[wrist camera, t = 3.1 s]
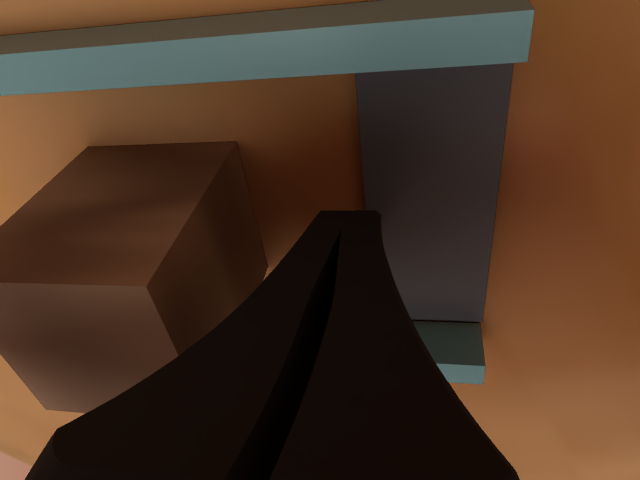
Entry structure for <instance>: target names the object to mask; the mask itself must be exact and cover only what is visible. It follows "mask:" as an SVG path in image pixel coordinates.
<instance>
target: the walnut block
mask: <svg viewBox="0 0 640 480" xmlns="http://www.w3.org/2000/svg"><path fill="white" fill-rule="evenodd" d="M267 268H268V265H267V261H266V257H265V253H264V249H263V245H262V241H261V237H260V233H259V229H258V225H257V221H256V217H255V213H254V209H253V205H252V201H251V197H250V193H249V190H248V186H247V182H246V178H245V174H244V170H243V166H242V162H241V158H240V154H239V150H238V146H237V142H236V141H227V142H200V143H174V144H147V145H120V146H93V147H87V148H86V149H85V150H84V151H82V152H81V153H80V154H79V155H78V156H77V157H76V158H75V159H74V160H73V161H72V162H70V163H69V164H68V165H67V166H66V167H65V168H64V169H63V170H62V171H61V172H59V173H58V174H57V175H56V176H55V177H54V178H53V179H52V180H51V181H50V182H48V183H47V184H46V185H45V186H44V187H43V188H42V189H41V190H40V191H39V192H38V193H36V194H35V195H34V196H33V197H32V198H31V199H30V200H29V201H28V202H27V203H25V204H24V205H23V206H22V207H21V208H20V209H19V210H18V211H17V212H16V213H14V214H13V215H12V216H11V217H10V218H9V219H8V220H7V221H6V222H5V223H4V224H2V225H1V226H0V354H1V355H2V357H3V358H4V359H5V360H6V361H7V363H8V364H9V365H10V366H11V368H12V369H13V370H14V371H15V372H16V374H17V375H18V376H19V377H20V379H21V380H22V381H23V382H24V383H25V385H26V386H27V387H28V388H29V390H30V391H31V392H32V393H33V394H34V396H35V397H36V398H37V399H38V401H39V402H40V403H41V404H42V405H43V407H44V408H45V409H46V410H56V411H67V412H79V413H87V412H89V411H91V410H93V409H95V408H96V407H98V406H100V405H102V404H104V403H105V402H107V401H109V400H111V399H113V398H114V397H116V396H118V395H119V394H121V393H123V392H124V391H126V390H128V389H129V388H131V387H132V386H134V385H136V384H137V383H139V382H140V381H142V380H144V379H145V378H147V377H148V376H150V375H151V374H153V373H154V372H156V371H157V370H159V369H160V368H162V367H163V366H165V365H166V364H168V363H169V362H171V361H172V360H173V359H175V358H176V357H177V356H179V355H180V354H181V353H183V352H184V351H185V350H187V349H188V348H189V347H191V346H192V345H193V344H195V343H196V342H197V341H199V340H200V339H201V338H202V337H204V336H205V335H206V334H208V333H209V332H210V331H211V330H213V329H214V328H215V327H216V326H217V325H218V324H220V323H221V322H222V321H223V320H224V319H225V318H226V317H227V316H229V315H230V314H231V313H232V312H233V311H234V310H235V309H236V308H237V307H238V306H239V305H240V304H241V303H242V302H243V301H244V300H245V299H246V298H247V297H248V296H249V295H250V294H251V293H252V292H253V291H254V290H255V289H256V288H257V287H258V286H259V285H260V284H261V283H262V282H263V279H264V276H265V273H266V271H267Z"/></svg>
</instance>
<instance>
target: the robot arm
mask: <svg viewBox="0 0 640 480" xmlns="http://www.w3.org/2000/svg"><path fill="white" fill-rule="evenodd" d="M25 480H520V479H519V477H518V475H517V472H516V471H515V469H514V468H513V467H512V465H511V464H510V463H509V462H508V461H507V459H506V458H505V457H504V456H503V455H502V453H501V452H500V451H499V450H498V449H497V447H496V446H495V445H494V444H493V442H492V441H491V440H490V439H489V437H488V436H487V435H486V434H485V432H484V431H483V430H482V429H481V427H480V426H479V425H478V423H477V422H476V421H475V419H474V418H473V417H472V415H471V414H470V413H469V411H468V410H467V409H466V407H465V406H464V405H463V403H462V402H461V400H460V399H459V398H458V396H457V395H456V393H455V392H454V390H453V389H452V387H451V386H450V384H449V383H448V381H447V380H446V378H445V376H444V375H443V373H442V372H441V370H440V369H439V367H438V366H437V364H436V363H435V361H434V360H433V358H432V356H431V355H430V353H429V351H428V349H427V348H426V346H425V344H424V342H423V341H422V339H421V337H420V335H419V333H418V331H417V330H416V328H415V326H414V324H413V322H412V320H411V318H410V316H409V314H408V312H407V309H406V307H405V305H404V303H403V300H402V298H401V296H400V293H399V291H398V289H397V286H396V284H395V281H394V278H393V275H392V272H391V269H390V266H389V263H388V260H387V257H386V254H385V250H384V245H383V239H382V221H381V214H380V213H378V212H377V211H376V210H357V211H321V212H320V213H319V214H318V215H317V216H316V217H315V218H314V220H313V221H312V222H311V224H310V225H309V226H308V228H307V229H306V230H305V232H304V233H303V234H302V236H301V237H300V238H299V239H298V241H297V242H296V243H295V245H294V246H293V247H292V248H291V250H290V251H289V252H288V253H287V254H286V256H285V257H284V258H283V259H282V260H281V261H280V263H279V264H278V265H277V266H276V267H275V269H274V270H273V271H272V272H271V273H270V274H269V275H268V276H267V277H266V278H265V280H264V281H263V282H262V283H261V284H260V285H259V286H258V287H257V288H256V289H255V290H254V291H253V292H252V293H251V294H250V295H249V296H248V297H247V298H246V299H245V300H244V301H243V302H242V303H241V304H240V305H239V306H238V307H237V308H236V309H235V310H234V311H233V312H232V313H231V314H230V315H229V316H227V317H226V318H225V319H224V320H223V321H222V322H221V323H220V324H218V325H217V326H216V327H215V328H214V329H213V330H211V331H210V332H209V333H208V334H206V335H205V336H204V337H202V338H201V339H200V340H199V341H197V342H196V343H195V344H193V345H192V346H191V347H189V348H188V349H187V350H185V351H184V352H183V353H181V354H180V355H179V356H177V357H176V358H175V359H173V360H172V361H171V362H169V363H168V364H166V365H165V366H163V367H162V368H160V369H159V370H157V371H156V372H154V373H153V374H151V375H150V376H148V377H147V378H145V379H144V380H142V381H140V382H139V383H137V384H136V385H134V386H132V387H131V388H129V389H128V390H126V391H124V392H123V393H121V394H119V395H118V396H116V397H114V398H113V399H111V400H109V401H107V402H105V403H104V404H102V405H100V406H98V407H96V408H95V409H93V410H91V411H89V412H87V413H86V414H84V415H82V416H80V417H78V418H77V419H75V420H73V421H71V422H69V423H67V424H65V425H64V426H62V427H60V428H58V429H57V430H56V431H55V433H54V434H53V436H52V437H51V438H50V440H49V442H48V443H47V445H46V446H45V448H44V449H43V451H42V452H41V454H40V455H39V457H38V459H37V460H36V462H35V464H34V465H33V467H32V468H31V470H30V472H29V473H28V475H27V477H26V478H25Z"/></svg>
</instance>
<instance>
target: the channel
mask: <svg viewBox="0 0 640 480" xmlns="http://www.w3.org/2000/svg"><path fill="white" fill-rule="evenodd" d="M534 11H535V10H534V8H533V7H532V5H531V4H530V2H529V1H528V0H379V1H368V2H358V3H347V4H336V5H325V6H315V7H304V8H293V9H282V10H272V11H261V12H250V13H240V14H229V15H218V16H207V17H197V18H186V19H175V20H165V21H154V22H143V23H132V24H122V25H111V26H100V27H89V28H79V29H68V30H57V31H47V32H36V33H25V34H14V35H4V36H0V96H5V95H20V94H36V93H52V92H67V91H83V90H98V89H114V88H130V87H145V86H161V85H177V84H192V83H208V82H223V81H239V80H255V79H270V78H286V77H301V76H317V75H333V74H348V73H355V79H356V91H357V104H358V117H359V130H360V142H361V155H362V168H363V180H364V193H365V206H366V210H376V211H377V212H378V213H380V214H381V221H382V239H383V245H384V250H385V254H386V257H387V260H388V263H389V266H390V269H391V272H392V275H393V278H394V281H395V284H396V286H397V289H398V291H399V293H400V296H401V298H402V300H403V303H404V305H405V307H406V309H407V312H408V314H409V316H410V318H411V319H421V320H448V321H475V322H483V313H484V305H485V297H486V289H487V280H488V272H489V264H490V256H491V247H492V239H493V231H494V222H495V214H496V206H497V198H498V189H499V181H500V173H501V164H502V156H503V148H504V140H505V131H506V123H507V115H508V107H509V98H510V90H511V82H512V73H513V65H514V63H520V62H527V61H528V54H529V47H530V40H531V32H532V25H533V18H534ZM412 322H413V324H414V326H415V328H416V330H417V331H418V333H419V335H420V337H421V339H422V341H423V342H424V344H425V346H426V348H427V349H428V351H429V353H430V355H431V356H432V358H433V360H434V361H435V363H436V364H437V366H438V367H439V369H440V370H441V372H442V373H443V375H444V376H445V378H446V380H447V381H448V382H452V383H468V384H483V381H484V374H485V358H484V349H483V341H482V333H481V324H480V323H457V322H431V321H412Z"/></svg>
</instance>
